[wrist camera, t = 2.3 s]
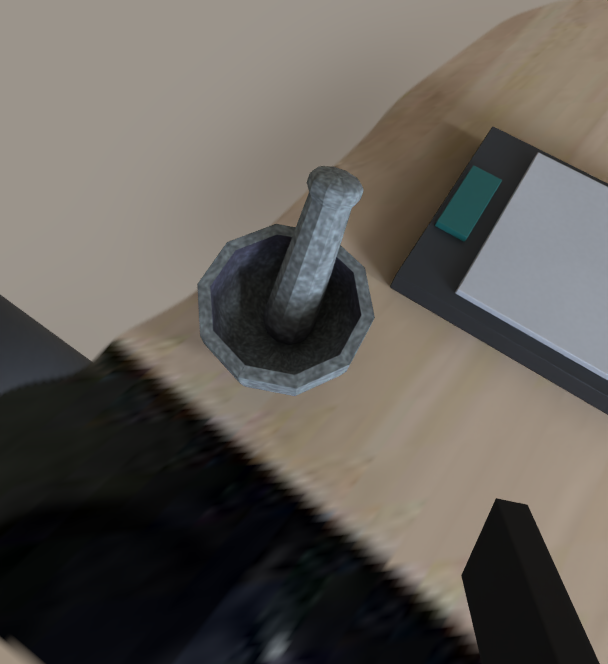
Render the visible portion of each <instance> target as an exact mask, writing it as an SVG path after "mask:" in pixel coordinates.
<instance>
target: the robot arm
mask: <svg viewBox="0 0 608 664" xmlns="http://www.w3.org/2000/svg"><path fill="white" fill-rule="evenodd" d="M461 576H462V580H463V584H464V589H465V593H466V597H467V602H468V606H469V610H470V614H471V619H472V623H473V627H474V632H475V636H476V640H477V645H478V649H479V653H480V657H481V662H482V664H600V663H599V661H598V659H597V657H596V655H595V652H594V650H593V648H592V646H591V644H590V641H589V639H588V637H587V635H586V633H585V630H584V628H583V626H582V624H581V622H580V619H579V617H578V615H577V613H576V611H575V608H574V606H573V604H572V602H571V600H570V597H569V595H568V593H567V591H566V589H565V586H564V584H563V582H562V580H561V578H560V575H559V573H558V571H557V569H556V567H555V564H554V562H553V560H552V558H551V555H550V553H549V551H548V549H547V547H546V544H545V542H544V540H543V538H542V536H541V533H540V531H539V529H538V527H537V525H536V522H535V520H534V518H533V516H532V514H531V511H530V509H529V507H528V505H526V504H521V503H516V502H511V501H506V500H501V499H497V498H496V500H495V502H494V504H493V506H492V508H491V511H490V513H489V515H488V517H487V520H486V522H485V524H484V526H483V528H482V531H481V533H480V535H479V537H478V540H477V542H476V544H475V546H474V548H473V551H472V553H471V555H470V557H469V560H468V562H467V564H466V566H465V568H464V571H463V573H462V575H461Z"/></svg>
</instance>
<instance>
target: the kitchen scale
mask: <svg viewBox="0 0 608 664" xmlns="http://www.w3.org/2000/svg"><path fill="white" fill-rule="evenodd" d="M390 287H391V288H392V289H394V290H396V291H397V292H399V293H401V294H403V295H404V296H406V297H408V298H409V299H411V300H413V301H415V302H416V303H418V304H420V305H421V306H423V307H425V308H426V309H428V310H430V311H432V312H433V313H435V314H437V315H438V316H440V317H442V318H444V319H445V320H447V321H449V322H450V323H452V324H454V325H456V326H457V327H459V328H461V329H462V330H464V331H466V332H468V333H469V334H471V335H473V336H474V337H476V338H478V339H480V340H481V341H483V342H485V343H486V344H488V345H490V346H492V347H493V348H495V349H497V350H498V351H500V352H502V353H503V354H505V355H507V356H509V357H510V358H512V359H514V360H515V361H517V362H519V363H521V364H522V365H524V366H526V367H527V368H529V369H531V370H533V371H534V372H536V373H538V374H539V375H541V376H543V377H545V378H546V379H548V380H550V381H551V382H553V383H555V384H557V385H558V386H560V387H562V388H563V389H565V390H567V391H569V392H570V393H572V394H574V395H575V396H577V397H579V398H580V399H582V400H584V401H586V402H587V403H589V404H591V405H592V406H594V407H596V408H598V409H599V410H601V411H603V412H604V413H606V414H608V184H607V183H605V182H603V181H601V180H599V179H597V178H595V177H593V176H591V175H589V174H587V173H585V172H583V171H581V170H579V169H577V168H575V167H573V166H571V165H569V164H567V163H565V162H563V161H561V160H559V159H557V158H555V157H553V156H551V155H549V154H547V153H545V152H543V151H541V150H539V149H537V148H535V147H533V146H531V145H529V144H527V143H525V142H523V141H521V140H519V139H517V138H515V137H513V136H511V135H509V134H507V133H505V132H503V131H501V130H499V129H497V128H495V127H492V128H491V130H490V131H489V133H488V134H487V136H486V137H485V139H484V140H483V142H482V143H481V145H480V147H479V148H478V150H477V151H476V153H475V154H474V156H473V157H472V159H471V160H470V162H469V163H468V165H467V166H466V168H465V170H464V171H463V173H462V174H461V176H460V177H459V179H458V180H457V182H456V183H455V185H454V186H453V188H452V189H451V191H450V192H449V194H448V196H447V197H446V199H445V200H444V202H443V203H442V205H441V206H440V208H439V209H438V211H437V212H436V214H435V215H434V217H433V219H432V220H431V222H430V223H429V225H428V226H427V228H426V229H425V231H424V232H423V234H422V235H421V237H420V238H419V240H418V242H417V243H416V245H415V246H414V248H413V249H412V251H411V252H410V254H409V255H408V257H407V258H406V260H405V261H404V263H403V265H402V266H401V268H400V269H399V271H398V272H397V274H396V276H395V278H394V280H393V282H392V284H391V286H390Z"/></svg>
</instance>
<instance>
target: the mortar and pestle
mask: <svg viewBox="0 0 608 664" xmlns="http://www.w3.org/2000/svg"><path fill="white" fill-rule="evenodd" d="M307 185H308V189H309V194H308V197H307V200H306V202H305V205H304V207H303V210H302V213H301V215H300V218H299V221H298V223H297V226H296V227H290V226H285V225H279V224H274V225H272V226H269V227H266V228H264V229H261V230H258V231H256V232H253V233H250V234H248V235H245V236H242V237H240V238H237V239H235V240H232V241H229V242H227V243H226V245H225V246H224V247H223V249H222V250H221V252H220V253H219V254H218V256H217V257H216V259H215V260H214V262H213V263H212V264H211V266H210V267H209V269H208V270H207V271H206V273H205V274H204V276H203V277H202V278H201V280H200V281H199V283H198V303H199V322H200V336H201V338H202V340H203V342H204V344H205V345H206V346H207V347H208V349H209V350H210V351H211V352H212V353H213V354H214V355H215V356H216V357H217V358H218V359H219V361H220V362H221V363H222V364H223V365H224V366H225V367H226V368H227V369H228V370H229V372H230V373H231V374H232V375H233V376H234V377H235V378H236V379H237V380H238V381H239V383H240V384H242V385H244V386H246V387H251V388H256V389H261V390H266V391H271V392H277V393H282V394H287V395H292V396H296V395H298V394H300V393H303V392H305V391H307V390H309V389H311V388H314V387H316V386H318V385H320V384H322V383H324V382H327V381H329V380H331V379H333V378H335V377H338V376H340V375H341V374H343V373H344V372H346V371H347V369H348V367H349V365H350V363H351V362H352V360H353V358H354V356H355V354H356V352H357V350H358V348H359V347H360V345H361V343H362V341H363V339H364V337H365V335H366V333H367V332H368V330H369V328H370V326H371V324H372V322H373V320H374V318H375V317H374V312H373V307H372V302H371V297H370V292H369V286H368V281H367V276H366V271H365V268H364V267H363V266H362V265H361V264H360V263H359V262H358V261H357V260H356V259H355V258H354V257H352V256H351V255H350V254H349V253H348V252H347V251H346V250H345V249H344V248H343V247H342V246H341V245H340V244H341V241H342V237H343V234H344V231H345V228H346V224H347V221H348V218H349V215H350V212H351V208H352V207H353V206H355V205H356V203H357V202H358V201H359V200H360V199H361V196H362V193H363V187H362V185H361V183H360V182H359V180H358V179H357V178H356V177H355V176H353V175H352V174H350V173H348V172H347V171H345V170H342V169H339V168H336V167H328V166H327V167H325V166H321V167H317V168H316V169H314V170H313V171H312V172H311V173H310V174H309V177H308V180H307Z"/></svg>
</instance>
